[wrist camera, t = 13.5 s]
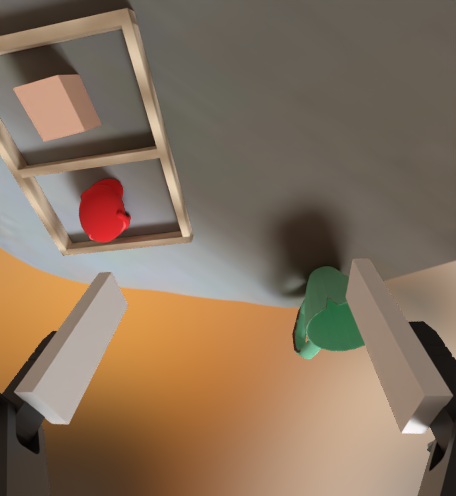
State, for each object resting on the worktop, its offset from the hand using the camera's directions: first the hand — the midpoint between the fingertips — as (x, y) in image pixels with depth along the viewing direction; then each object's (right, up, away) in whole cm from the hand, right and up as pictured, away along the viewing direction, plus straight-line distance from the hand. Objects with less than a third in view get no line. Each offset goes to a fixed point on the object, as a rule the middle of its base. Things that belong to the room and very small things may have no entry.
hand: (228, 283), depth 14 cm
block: (-18, +18, +15) cm, 29 cm away
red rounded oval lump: (-16, +8, +22) cm, 28 cm away
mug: (+14, -5, +29) cm, 32 cm away
